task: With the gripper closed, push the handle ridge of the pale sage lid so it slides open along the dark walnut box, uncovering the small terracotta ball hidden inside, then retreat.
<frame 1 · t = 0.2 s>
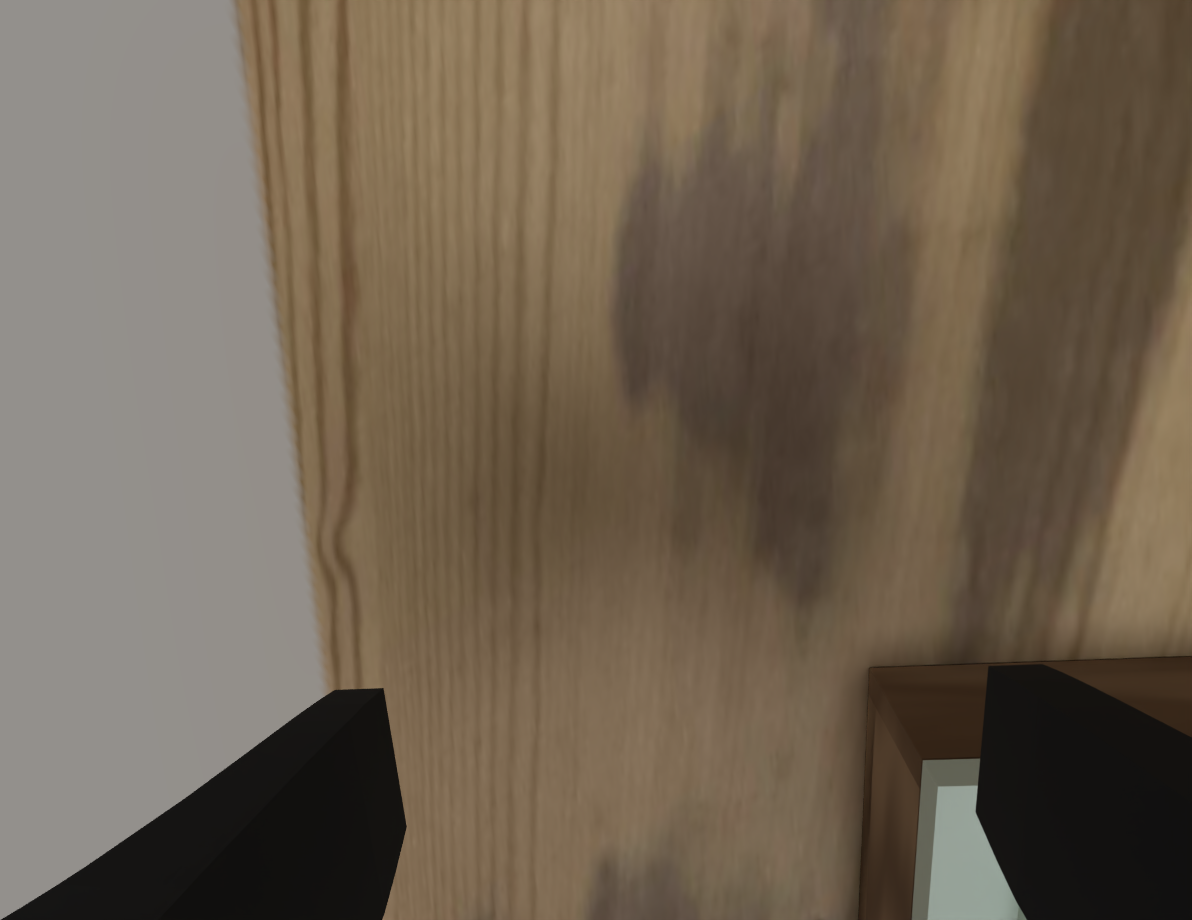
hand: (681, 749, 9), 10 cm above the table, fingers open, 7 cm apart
walnut box: (1079, 816, 21), on the table
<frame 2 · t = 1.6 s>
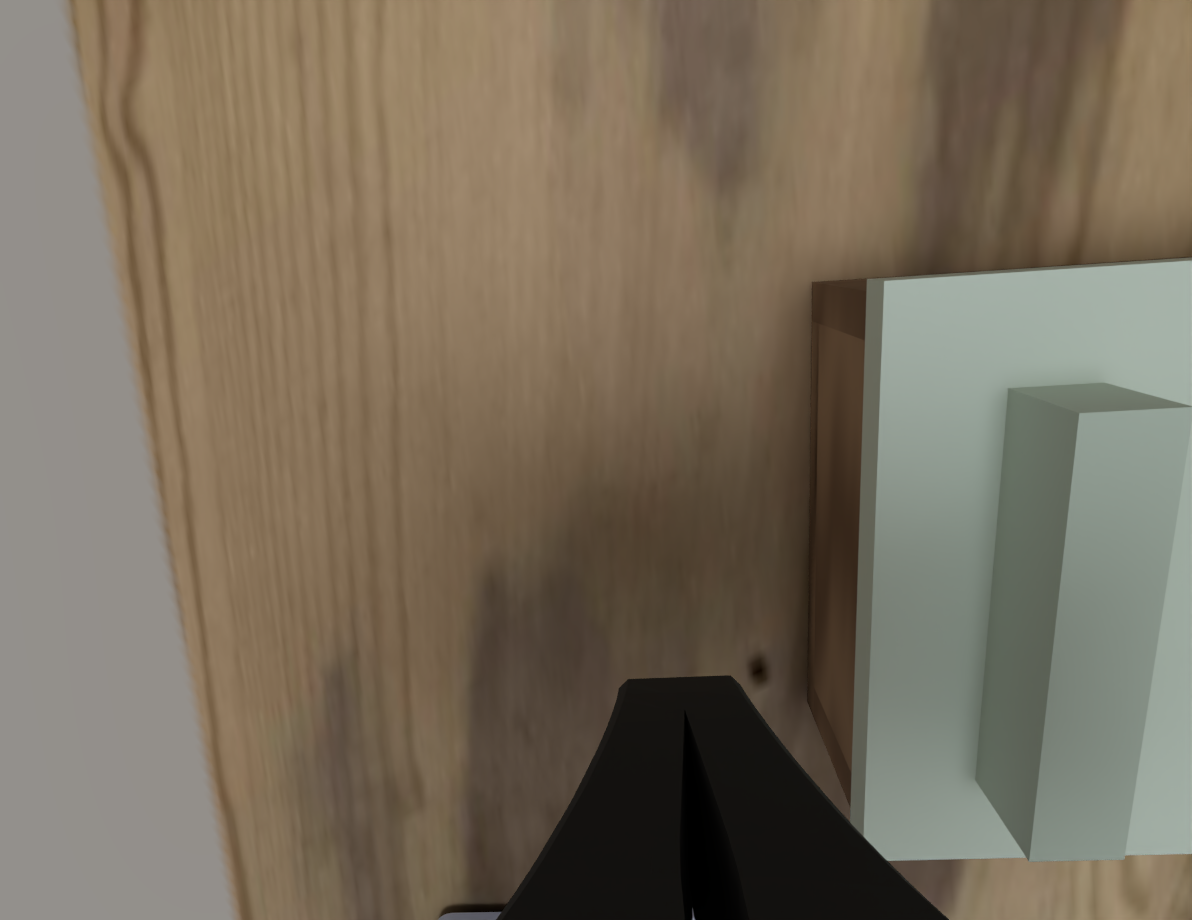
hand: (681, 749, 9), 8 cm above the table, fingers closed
walnut box: (1083, 495, 16), on the table
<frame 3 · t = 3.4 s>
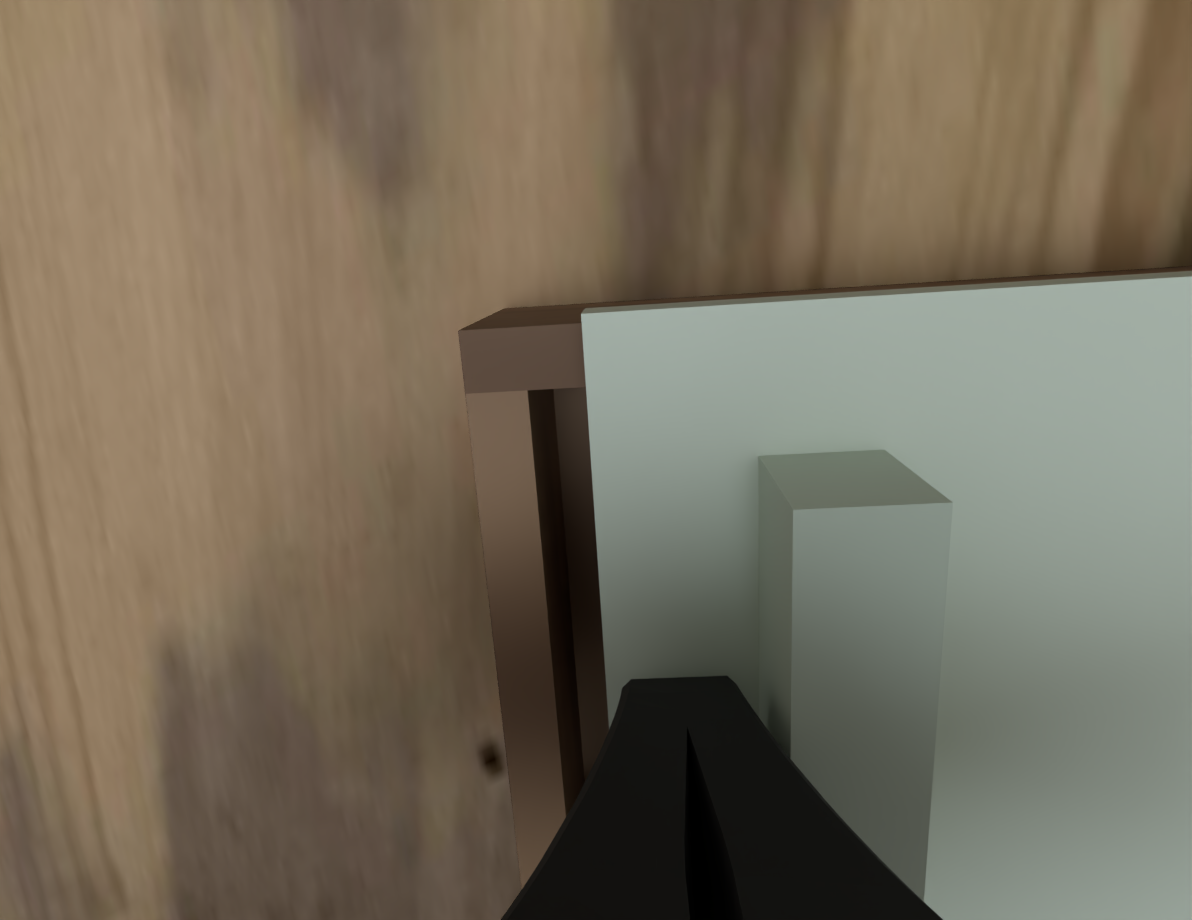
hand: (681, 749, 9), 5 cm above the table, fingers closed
lid: (1130, 738, 9), point 5 cm above the table, slide at 1.7 cm, touching gripper
walnut box: (849, 562, 14), on the table
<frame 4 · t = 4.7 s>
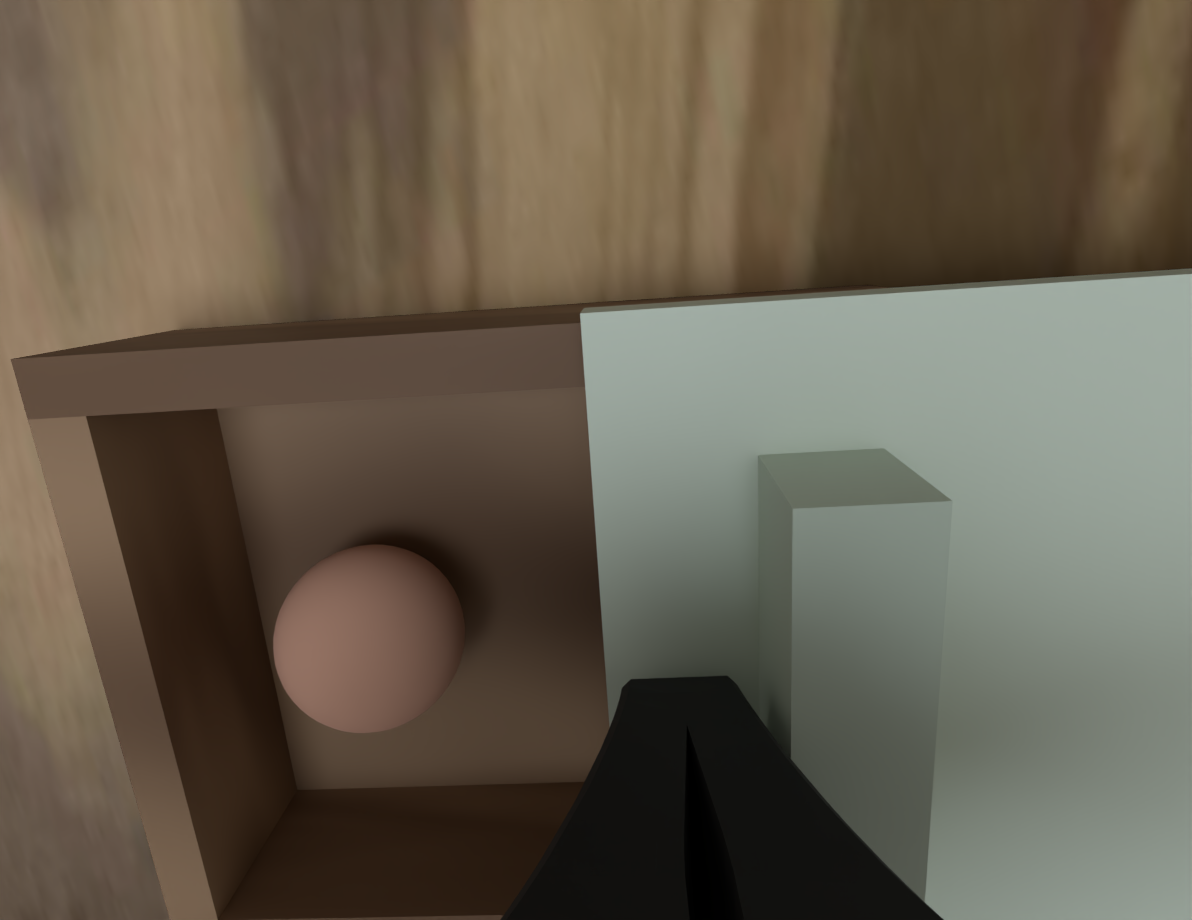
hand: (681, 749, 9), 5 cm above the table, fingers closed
lid: (1131, 736, 9), point 5 cm above the table, slide at 7.6 cm, touching gripper
walnut box: (537, 575, 14), on the table
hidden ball: (399, 594, 14), point 1 cm above the table, touching walnut box
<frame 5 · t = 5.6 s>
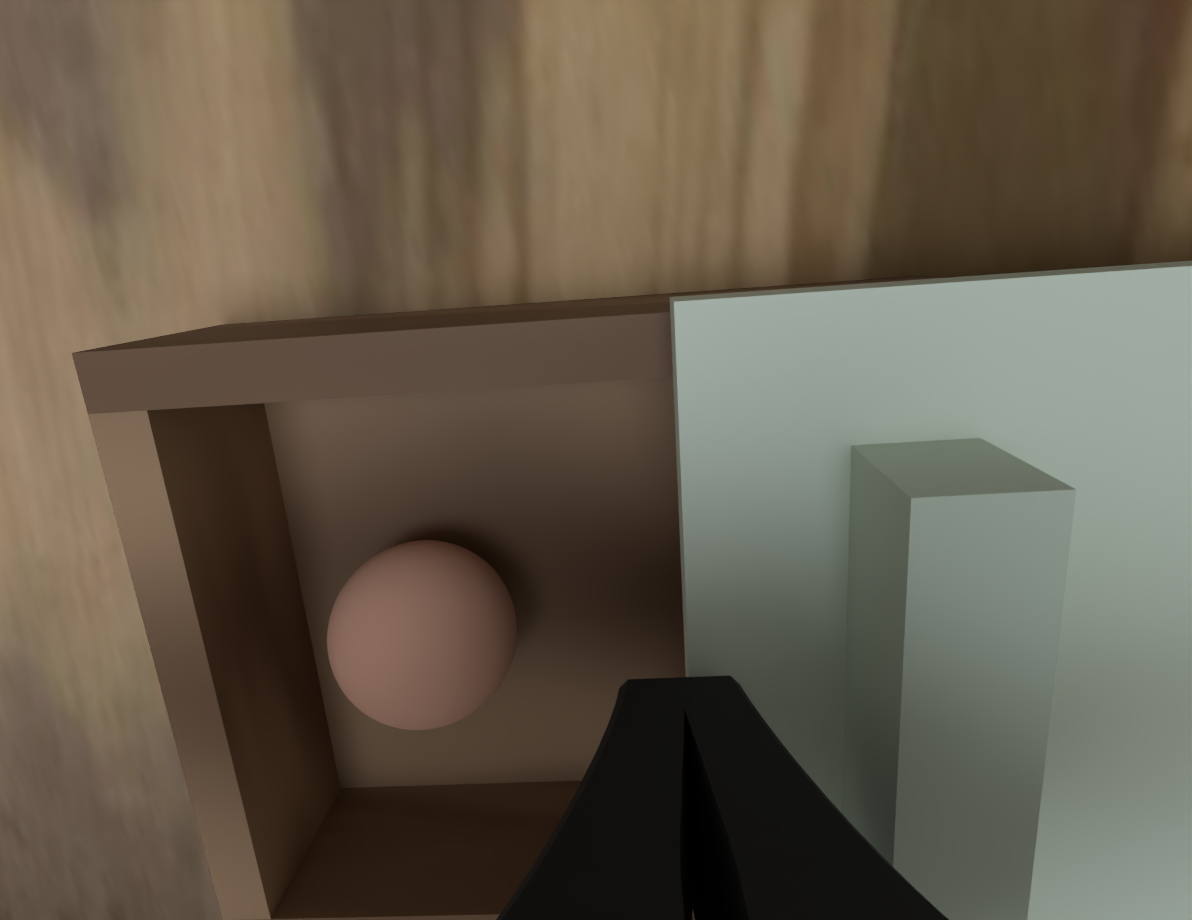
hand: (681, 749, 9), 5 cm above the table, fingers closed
walnut box: (584, 570, 14), on the table
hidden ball: (446, 591, 13), point 1 cm above the table, touching walnut box
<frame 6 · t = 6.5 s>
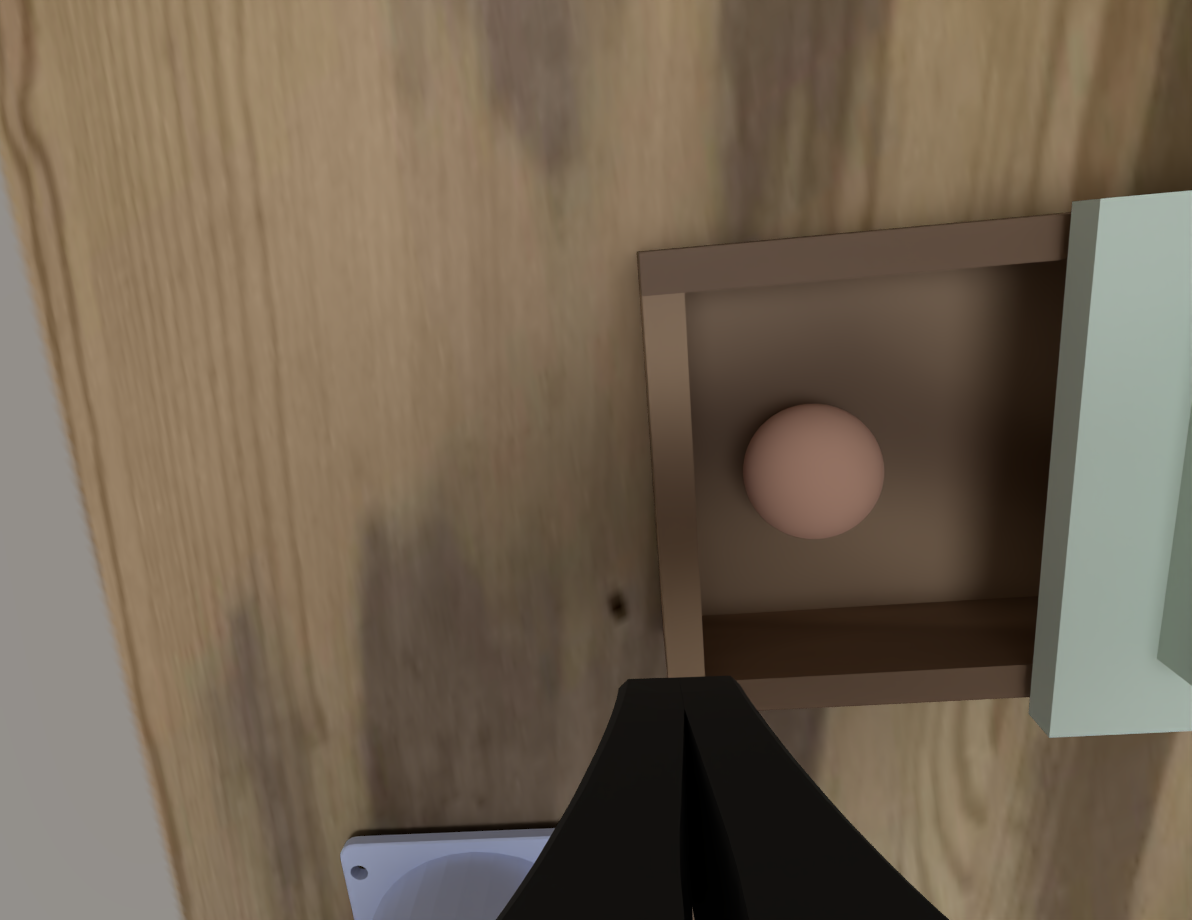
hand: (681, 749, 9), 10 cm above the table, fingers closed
walnut box: (893, 439, 18), on the table
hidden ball: (796, 453, 18), point 1 cm above the table, touching walnut box
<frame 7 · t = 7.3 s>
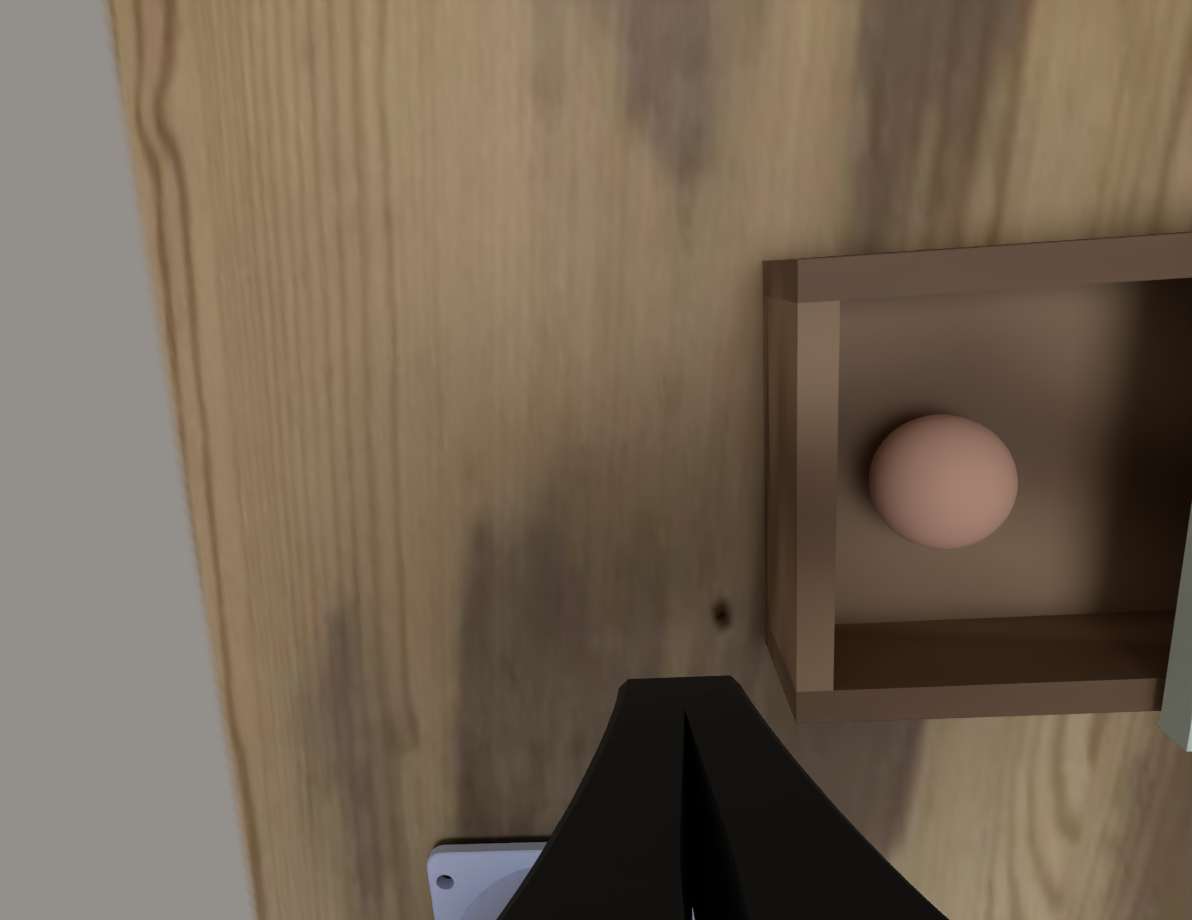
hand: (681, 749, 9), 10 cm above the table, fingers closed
walnut box: (1007, 452, 18), on the table
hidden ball: (914, 463, 18), point 1 cm above the table, touching walnut box
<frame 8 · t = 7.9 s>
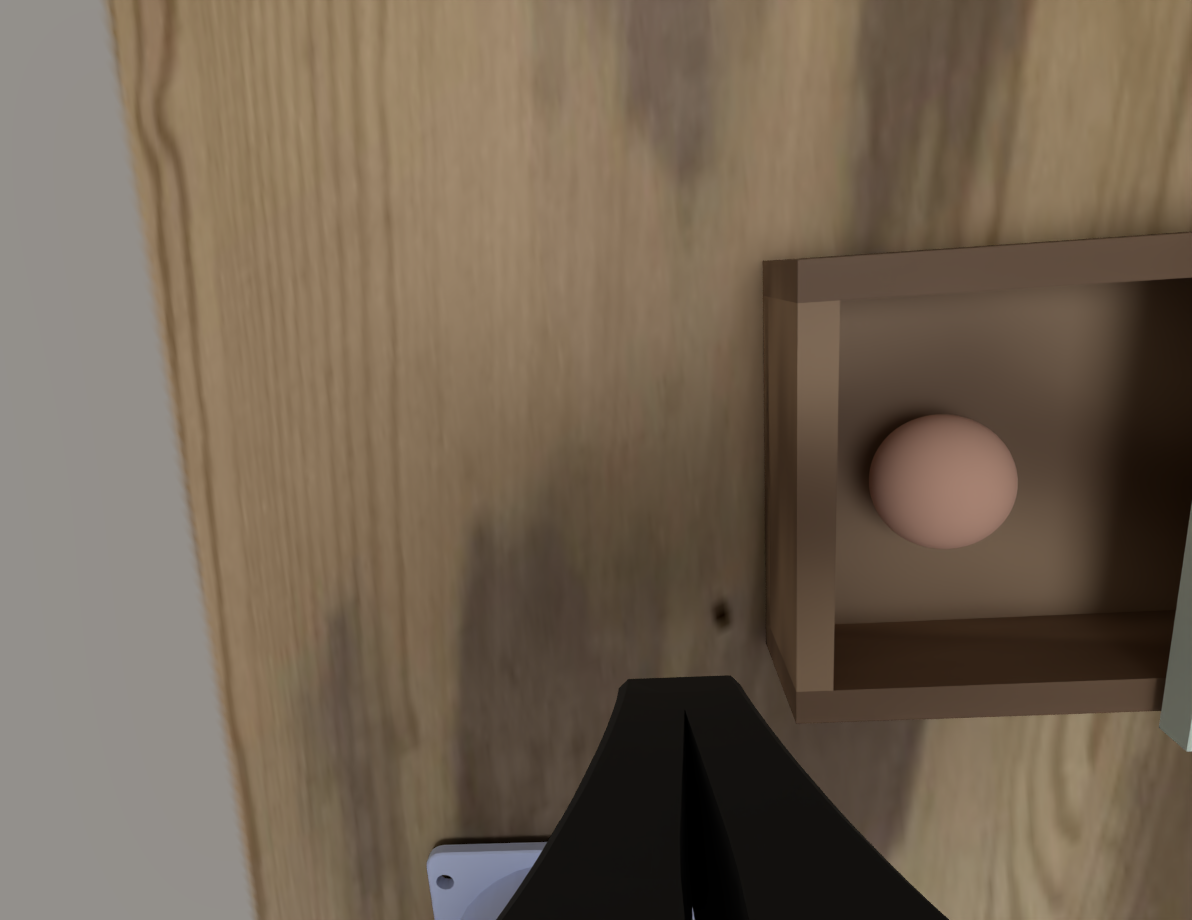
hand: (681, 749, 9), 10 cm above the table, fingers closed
walnut box: (1007, 452, 18), on the table
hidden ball: (914, 463, 18), point 1 cm above the table, touching walnut box
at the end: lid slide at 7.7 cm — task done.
